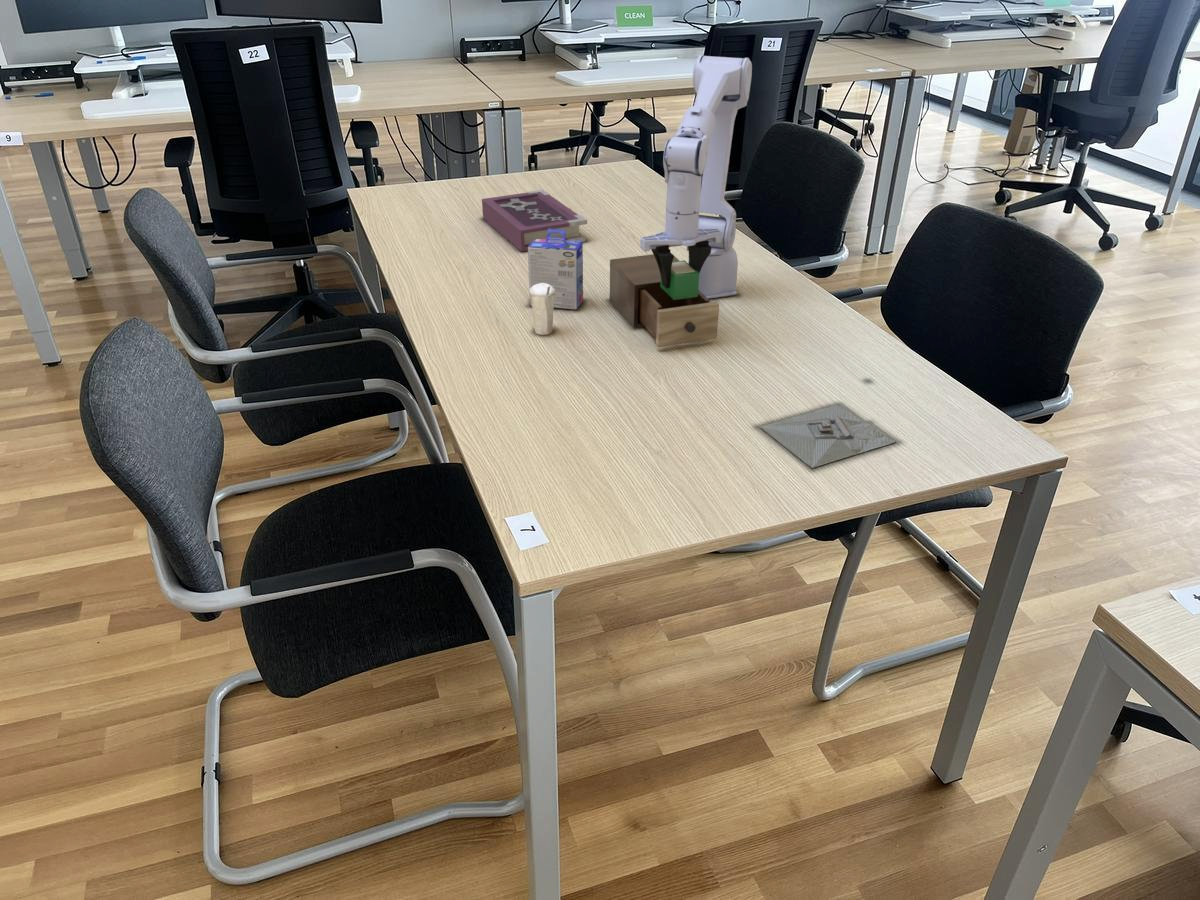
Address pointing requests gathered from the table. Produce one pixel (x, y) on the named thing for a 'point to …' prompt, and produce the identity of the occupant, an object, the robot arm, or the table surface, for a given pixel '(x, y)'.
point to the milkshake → (542, 307)
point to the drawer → (677, 317)
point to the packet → (682, 281)
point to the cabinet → (632, 283)
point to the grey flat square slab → (826, 435)
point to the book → (531, 218)
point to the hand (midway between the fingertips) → (678, 284)
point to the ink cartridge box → (558, 268)
